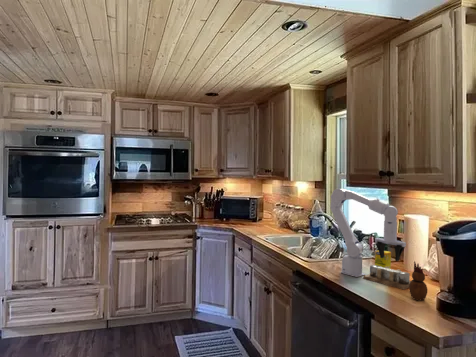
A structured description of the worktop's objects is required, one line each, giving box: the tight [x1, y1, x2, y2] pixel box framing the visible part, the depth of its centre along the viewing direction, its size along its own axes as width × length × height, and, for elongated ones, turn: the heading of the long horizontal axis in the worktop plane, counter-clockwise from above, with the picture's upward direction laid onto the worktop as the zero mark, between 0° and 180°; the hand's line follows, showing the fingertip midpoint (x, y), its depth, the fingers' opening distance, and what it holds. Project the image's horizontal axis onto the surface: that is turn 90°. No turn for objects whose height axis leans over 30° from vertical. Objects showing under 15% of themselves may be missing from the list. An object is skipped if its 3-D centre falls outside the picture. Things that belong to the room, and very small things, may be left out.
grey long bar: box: [369, 264, 411, 285], centre depth 165 cm, size 19×5×4 cm, turn 38°
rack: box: [362, 267, 412, 290], centre depth 165 cm, size 20×11×6 cm, turn 38°
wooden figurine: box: [408, 261, 428, 302], centre depth 142 cm, size 7×6×15 cm
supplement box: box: [374, 250, 392, 269], centre depth 182 cm, size 6×6×11 cm
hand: (389, 259), depth 168 cm, fingers open, 7 cm apart
